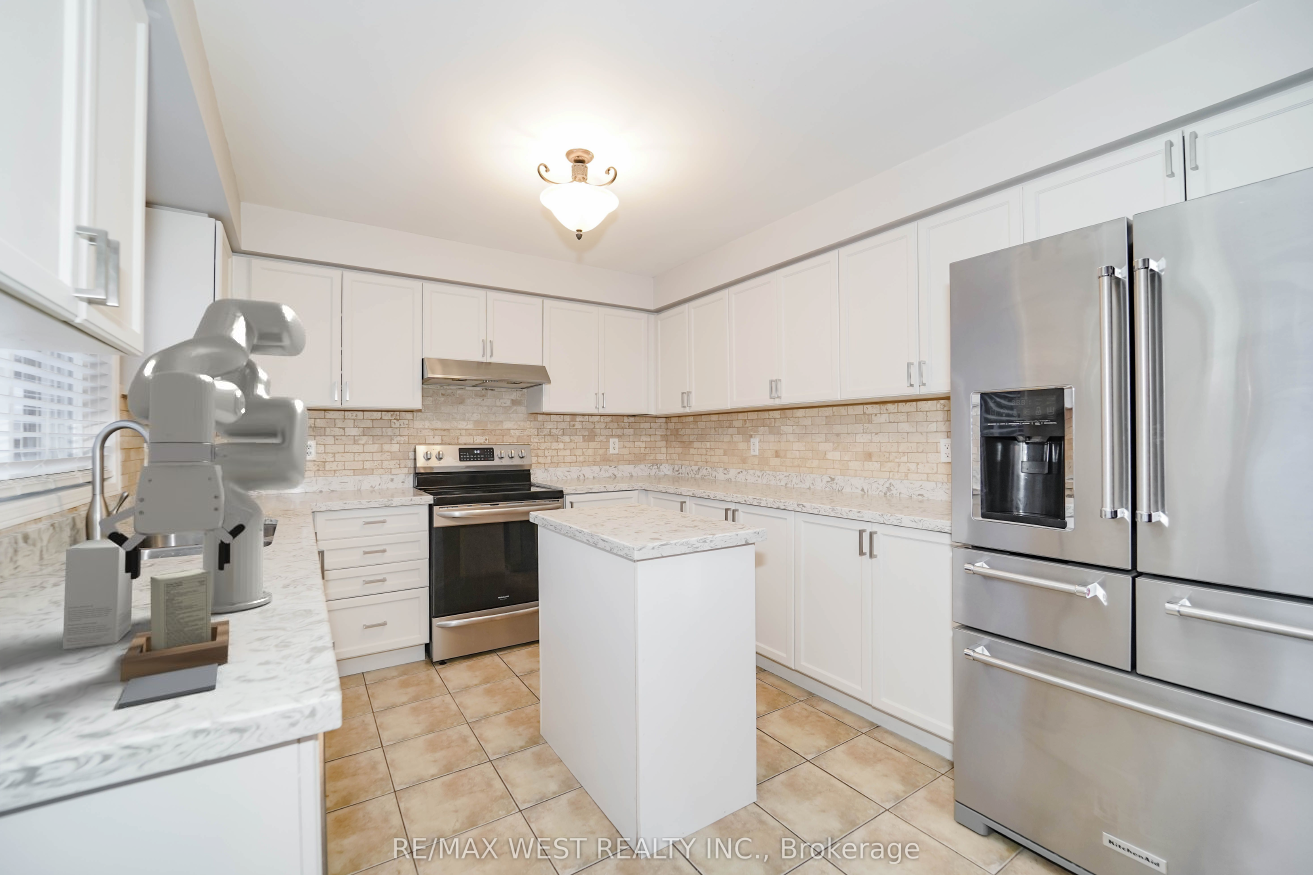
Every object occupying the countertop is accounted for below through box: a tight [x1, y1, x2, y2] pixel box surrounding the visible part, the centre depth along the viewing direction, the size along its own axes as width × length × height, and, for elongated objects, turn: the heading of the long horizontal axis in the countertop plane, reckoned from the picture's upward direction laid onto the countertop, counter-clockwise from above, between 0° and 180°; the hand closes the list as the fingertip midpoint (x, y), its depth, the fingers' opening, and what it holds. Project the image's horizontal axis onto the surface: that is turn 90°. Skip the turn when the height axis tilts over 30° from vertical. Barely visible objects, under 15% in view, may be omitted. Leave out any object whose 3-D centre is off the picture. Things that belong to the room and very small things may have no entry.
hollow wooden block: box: [119, 619, 230, 683], centre depth 83 cm, size 15×11×2 cm
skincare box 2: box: [149, 567, 212, 651], centre depth 84 cm, size 6×4×12 cm
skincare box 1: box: [62, 538, 134, 651], centre depth 91 cm, size 8×7×16 cm
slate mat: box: [117, 663, 219, 709], centre depth 73 cm, size 9×9×1 cm
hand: (179, 573), depth 83 cm, fingers open, 9 cm apart
